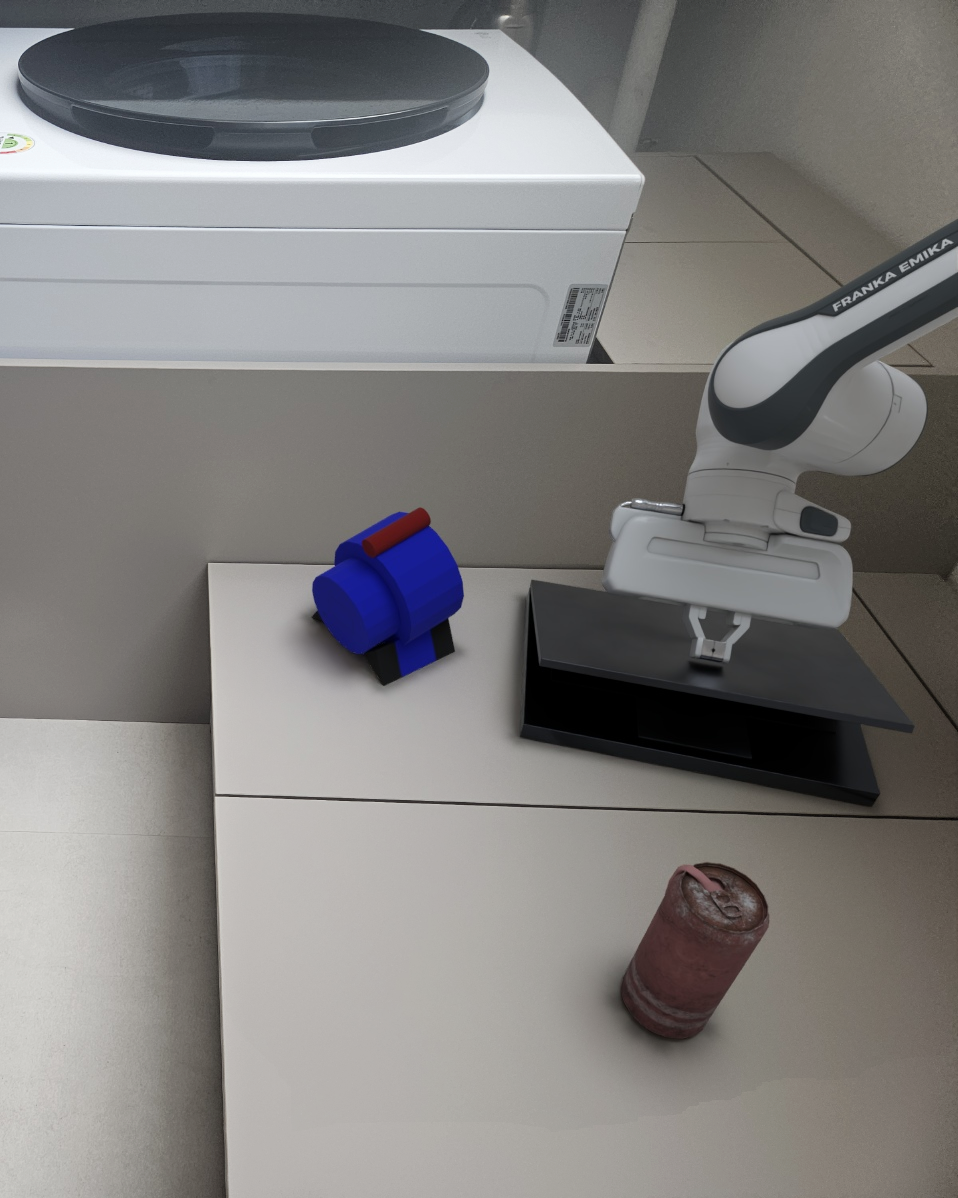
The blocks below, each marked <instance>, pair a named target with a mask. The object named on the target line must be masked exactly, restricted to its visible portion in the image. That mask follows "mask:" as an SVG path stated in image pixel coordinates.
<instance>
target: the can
mask: <svg viewBox="0 0 958 1198" xmlns="http://www.w3.org/2000/svg"><path fill="white" fill-rule="evenodd" d="M769 928H770V912H769V904H768V901H767V898H766V896H765V894H764V893H763V891H762V890H761V888H760V887H759V885H758V884H757V883H756V882H755V881H753V880H752V879H751V878H750V877H749V876H748V875H747V874H745V873H743V872H741V871H740V870H738V869H736V868H734V867H732V866H729V865H726V864H723V863H721V862H720V863H719V862H710V861H704V862H697V863H694V864H682V865H679V866H677V868H676V869H675V870H674V872H673V874H672V875H671V877H670V878H669V879H668V882H667V886H666V889H665V892H664V896H663V898H662V900H661V902H660V904H659V906H658V907H657V910H656V911H655V914H654V915H653V917H652V920H651V921H650V923H649V925H648V927H647V929H646V931H645V932H644V935H643V936H642V939H641V941H640V942H639V944H638V945H637V948H636V950H635V952H634V954H633V956H632V958H631V960H630V962H629V964H628V966H627V968H626V969H625V971H624V974H623V975H622V977H621V983H620V992H621V996H622V1001H623V1002H624V1004H625V1006H626V1008H627V1010H628V1012H629V1013H630V1015H631V1016H632V1017H633V1018H634V1019H635V1020H636V1021H637V1022H638V1023H639V1025H641V1026H642V1027H644V1028H645V1029H647V1030H648V1031H650V1032H651V1033H654V1034H656V1035H659V1036H661V1037H663V1038H671V1039H678V1040H681V1039H686V1038H692V1037H695V1036H696V1035H697V1034H699V1033H700V1032H702V1031H703V1030H704V1028H705V1026H706V1025H707V1023H708V1022H709V1021H710V1019H711V1017H712V1016H713V1014H714V1013H715V1011H716V1010H717V1008H718V1006H719V1005H720V1003H721V1002H722V1001H723V999H724V998H725V996H726V994H727V993H728V991H729V990H730V988H731V986H732V985H733V983H734V982H735V980H736V979H737V977H738V976H739V974H740V973H741V971H742V969H743V968H744V966H746V963H747V962H748V960H749V959H750V957H751V955H752V954H753V953H754V951H755V950H756V948H757V946H758V945H759V943H760V942H761V940H762V939H763V938H764V936H765V934H766V932H767V931H768V929H769Z"/></svg>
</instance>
